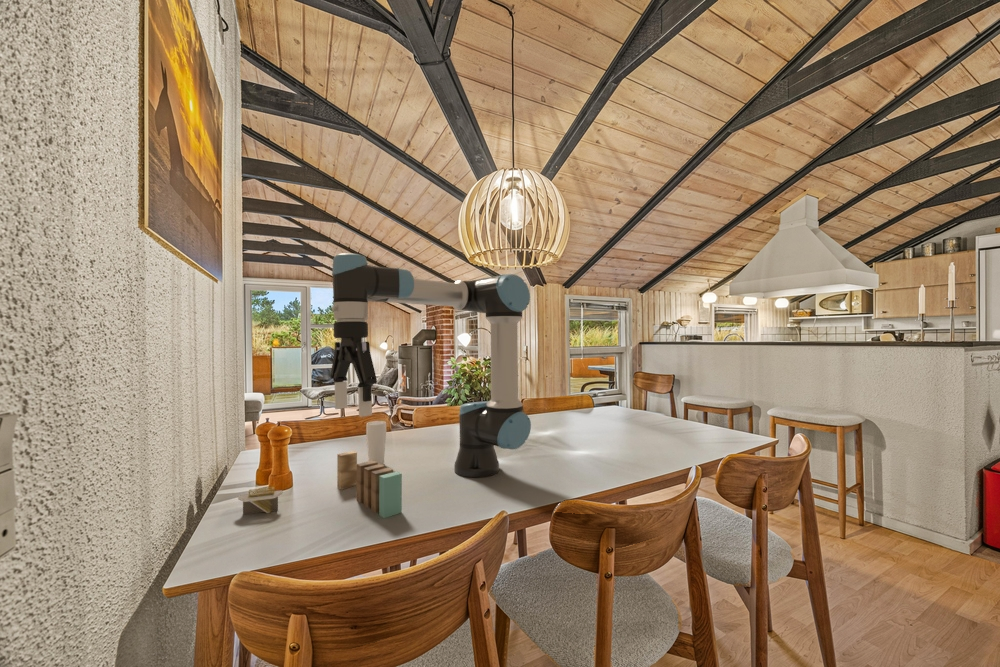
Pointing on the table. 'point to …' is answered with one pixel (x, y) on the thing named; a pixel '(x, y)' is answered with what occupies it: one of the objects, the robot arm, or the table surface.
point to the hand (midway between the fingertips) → (352, 412)
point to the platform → (260, 501)
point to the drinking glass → (376, 440)
